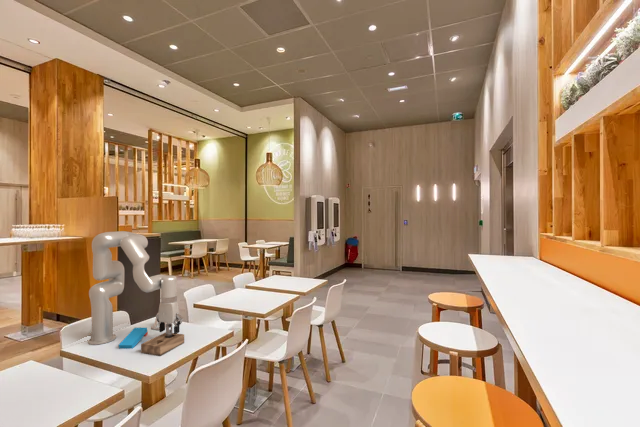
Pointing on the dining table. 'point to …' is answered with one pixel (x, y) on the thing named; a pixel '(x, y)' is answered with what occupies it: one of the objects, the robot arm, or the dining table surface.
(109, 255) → the robot arm
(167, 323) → the portable electronic device stand
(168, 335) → the pin
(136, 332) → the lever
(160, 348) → the hole block
